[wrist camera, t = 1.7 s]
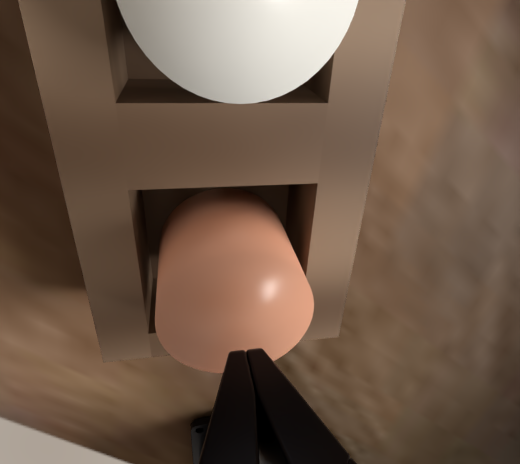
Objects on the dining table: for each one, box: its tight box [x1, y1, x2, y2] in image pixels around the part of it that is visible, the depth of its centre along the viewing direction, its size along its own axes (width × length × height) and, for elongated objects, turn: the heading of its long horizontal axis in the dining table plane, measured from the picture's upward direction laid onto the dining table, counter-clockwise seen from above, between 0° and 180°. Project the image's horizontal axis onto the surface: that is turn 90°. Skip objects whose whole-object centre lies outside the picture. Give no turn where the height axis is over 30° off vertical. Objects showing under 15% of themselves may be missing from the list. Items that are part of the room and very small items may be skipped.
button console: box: [18, 0, 406, 362], centre depth 13 cm, size 16×9×4 cm, turn 178°
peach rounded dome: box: [155, 188, 314, 373], centre depth 13 cm, size 4×4×4 cm
